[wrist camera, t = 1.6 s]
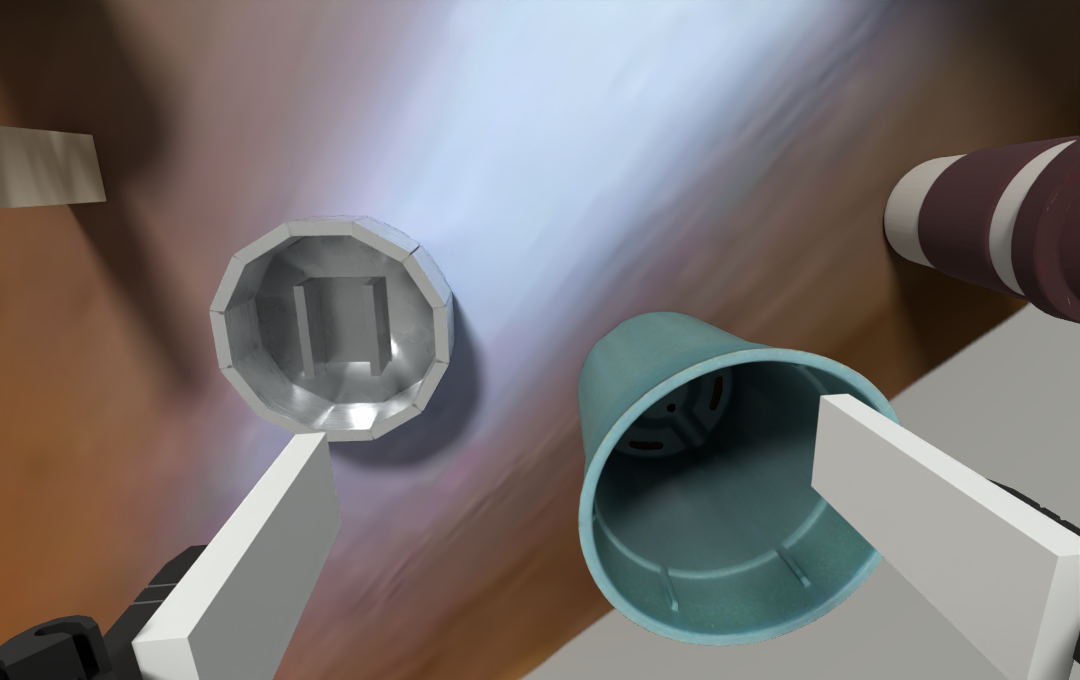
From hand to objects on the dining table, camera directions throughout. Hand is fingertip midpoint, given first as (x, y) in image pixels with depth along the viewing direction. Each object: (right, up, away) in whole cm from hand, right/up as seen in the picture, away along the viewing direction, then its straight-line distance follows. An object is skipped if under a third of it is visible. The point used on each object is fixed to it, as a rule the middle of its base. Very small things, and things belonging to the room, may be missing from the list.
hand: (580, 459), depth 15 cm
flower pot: (+8, 0, +27) cm, 29 cm away
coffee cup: (+27, +12, +25) cm, 39 cm away
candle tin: (-14, +5, +24) cm, 28 cm away
